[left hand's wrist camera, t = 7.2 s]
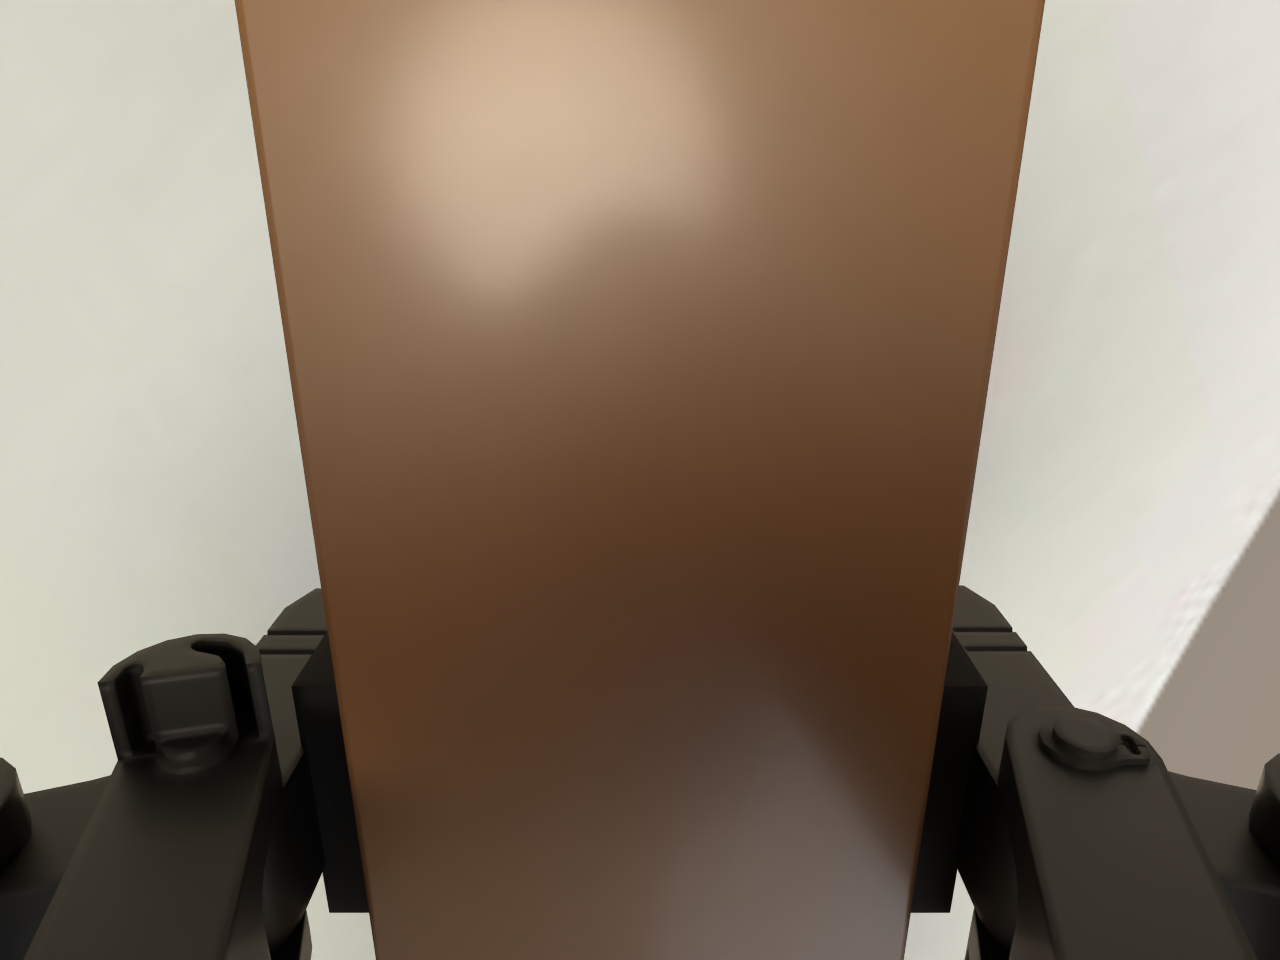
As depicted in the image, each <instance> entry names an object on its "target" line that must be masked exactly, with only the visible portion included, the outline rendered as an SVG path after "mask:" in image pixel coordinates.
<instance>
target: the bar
mask: <svg viewBox="0 0 1280 960" xmlns="http://www.w3.org/2000/svg"><path fill="white" fill-rule="evenodd" d="M1044 4H1045V0H235V6H236V12H237V19H238V26H239V33H240V40H241V46H242V53H243V60H244V67H245V73H246V80H247V87H248V94H249V101H250V107H251V114H252V121H253V128H254V135H255V141H256V148H257V155H258V162H259V168H260V175H261V182H262V189H263V196H264V202H265V209H266V216H267V223H268V229H269V236H270V243H271V250H272V257H273V263H274V270H275V277H276V284H277V291H278V297H279V304H280V311H281V318H282V324H283V331H284V338H285V345H286V352H287V358H288V365H289V372H290V379H291V385H292V392H293V399H294V406H295V413H296V419H297V426H298V433H299V440H300V447H301V453H302V460H303V467H304V474H305V480H306V487H307V494H308V501H309V508H310V514H311V521H312V528H313V535H314V541H315V548H316V555H317V562H318V569H319V575H320V582H321V589H322V596H323V603H324V609H325V616H326V623H327V630H328V636H329V643H330V650H331V657H332V664H333V670H334V677H335V684H336V691H337V697H338V704H339V711H340V718H341V725H342V731H343V738H344V745H345V752H346V759H347V765H348V772H349V779H350V786H351V792H352V799H353V806H354V813H355V820H356V826H357V833H358V840H359V847H360V853H361V860H362V867H363V874H364V881H365V887H366V894H367V901H368V908H369V915H370V921H371V928H372V935H373V942H374V948H375V955H376V960H904V953H905V947H906V940H907V933H908V926H909V919H910V913H911V906H912V899H913V892H914V886H915V879H916V872H917V865H918V858H919V852H920V845H921V838H922V831H923V824H924V818H925V811H926V804H927V797H928V791H929V784H930V777H931V770H932V763H933V757H934V750H935V743H936V736H937V730H938V723H939V716H940V709H941V702H942V696H943V689H944V682H945V675H946V668H947V662H948V655H949V648H950V641H951V635H952V628H953V621H954V614H955V607H956V601H957V594H958V587H959V580H960V574H961V567H962V560H963V553H964V546H965V540H966V533H967V526H968V519H969V513H970V506H971V499H972V492H973V485H974V479H975V472H976V465H977V458H978V451H979V445H980V438H981V431H982V424H983V418H984V411H985V404H986V397H987V390H988V384H989V377H990V370H991V363H992V357H993V350H994V343H995V336H996V329H997V323H998V316H999V309H1000V302H1001V296H1002V289H1003V282H1004V275H1005V268H1006V262H1007V255H1008V248H1009V241H1010V234H1011V228H1012V221H1013V214H1014V207H1015V201H1016V194H1017V187H1018V180H1019V173H1020V167H1021V160H1022V153H1023V146H1024V140H1025V133H1026V126H1027V119H1028V112H1029V106H1030V99H1031V92H1032V85H1033V79H1034V72H1035V65H1036V58H1037V51H1038V45H1039V38H1040V31H1041V24H1042V17H1043V11H1044Z"/></svg>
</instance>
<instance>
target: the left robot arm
mask: <svg viewBox="0 0 1280 960" xmlns="http://www.w3.org/2000/svg"><path fill="white" fill-rule="evenodd" d="M98 686H99V689H100V693H101V697H102V701H103V705H104V708H105V712H106V716H107V720H108V724H109V728H110V731H111V735H112V739H113V743H114V747H115V750H116V754H117V758H118V762H117V764H116V766H115V768H114V770H113V772H112V774H111V775H110V776H106V777H103V778H99V779H95V780H91V781H86V782H81V783H76V784H72V785H67V786H62V787H57V788H52V789H47V790H42V791H37V792H32V793H28V794H23V791H22V788H21V784H20V781H19V778H18V775H17V772H16V769H15V768H14V767H13V766H12V765H11V764H9V763H8V762H7V761H5V760H4V759H3V758H0V960H311V952H312V942H311V935H310V928H309V922H308V917H307V911H306V908H307V906H308V903H309V901H310V899H311V897H312V894H313V892H314V890H315V887H316V885H317V883H318V881H319V878H320V876H321V874H322V872H323V877H324V883H325V889H326V895H327V901H328V907H329V913H369V908H368V901H367V894H366V887H365V881H364V874H363V867H362V860H361V853H360V847H359V840H358V833H357V826H356V820H355V813H354V806H353V799H352V792H351V786H350V779H349V772H348V765H347V759H346V752H345V745H344V738H343V731H342V725H341V718H340V711H339V704H338V697H337V691H336V684H335V677H334V670H333V664H332V657H331V650H330V643H329V636H328V630H327V623H326V616H325V609H324V603H323V596H322V589H314V590H313V591H311V592H310V593H308V594H307V595H305V596H303V597H302V598H300V599H299V600H297V601H295V602H294V603H292V604H291V605H289V606H288V607H286V608H285V609H284V610H283V611H282V613H281V614H280V615H279V617H278V618H277V619H276V620H275V622H274V623H273V624H272V626H271V627H270V628H269V630H268V634H267V635H264V636H263V637H262V639H261V640H260V641H259V642H258V644H257V645H256V646H255V645H254V644H253V643H251V642H250V641H249V640H247V639H246V638H242V637H237V636H233V635H228V634H197V635H192V636H187V637H182V638H177V639H172V640H167V641H164V642H161V643H159V644H156V645H153V646H151V647H148V648H145V649H143V650H140V651H137V652H136V653H134V654H132V655H131V656H129V657H127V658H126V659H124V660H122V661H121V662H119V663H117V664H116V665H114V666H113V667H112V668H111V669H110V670H109V671H108V672H107V673H106V674H105V675H104V676H103V677H102V679H101V680H100V681H99V682H98ZM957 869H958V871H959V873H960V875H961V878H962V880H963V882H964V884H965V887H966V889H967V891H968V894H969V896H970V898H971V900H972V903H973V905H974V911H973V917H972V922H971V928H970V933H969V939H968V944H967V950H966V955H965V960H1280V754H1277V755H1276V756H1275V757H1274V758H1273V759H1271V760H1270V761H1269V762H1267V763H1266V764H1265V766H1264V769H1263V772H1262V776H1261V779H1260V782H1259V785H1258V788H1257V790H1252V789H1247V788H1242V787H1237V786H1232V785H1227V784H1222V783H1217V782H1213V781H1208V780H1203V779H1198V778H1193V777H1188V776H1184V775H1180V774H1177V773H1173V772H1169V771H1167V769H1166V766H1165V764H1164V762H1163V760H1162V759H1161V757H1160V756H1159V755H1158V753H1157V752H1156V751H1155V750H1154V748H1153V747H1152V746H1151V745H1150V743H1149V742H1148V741H1147V740H1145V739H1144V738H1142V737H1141V736H1140V735H1138V734H1137V733H1136V732H1134V731H1133V730H1131V729H1130V728H1128V727H1127V726H1126V725H1124V724H1121V723H1119V722H1117V721H1114V720H1112V719H1110V718H1108V717H1105V716H1103V715H1101V714H1098V713H1095V712H1091V711H1087V710H1082V709H1078V708H1074V706H1073V705H1072V704H1071V702H1070V701H1069V700H1068V699H1067V697H1066V696H1065V695H1064V693H1063V692H1062V691H1061V690H1060V688H1059V687H1058V686H1057V684H1056V683H1055V682H1054V681H1053V679H1052V678H1051V677H1050V675H1049V674H1048V673H1047V672H1046V670H1045V669H1044V668H1043V666H1042V665H1041V664H1040V663H1039V661H1038V660H1037V659H1036V657H1035V656H1034V655H1033V654H1032V652H1031V651H1027V646H1026V645H1025V643H1024V642H1023V641H1022V640H1021V638H1020V637H1019V636H1018V634H1017V633H1016V632H1012V627H1011V625H1010V624H1009V623H1008V622H1007V620H1006V619H1005V618H1004V616H1003V615H1002V614H1001V613H1000V611H999V610H998V609H997V607H996V606H995V605H994V604H992V603H991V602H989V601H987V600H986V599H984V598H983V597H981V596H979V595H978V594H976V593H975V592H973V591H971V590H970V589H968V588H967V587H965V586H959V587H958V594H957V601H956V607H955V614H954V621H953V628H952V635H951V641H950V648H949V655H948V662H947V668H946V675H945V682H944V689H943V696H942V702H941V709H940V716H939V723H938V730H937V736H936V743H935V750H934V757H933V763H932V770H931V777H930V784H929V791H928V797H927V804H926V811H925V818H924V824H923V831H922V838H921V845H920V852H919V858H918V865H917V872H916V879H915V886H914V892H913V899H912V906H911V913H950V909H951V903H952V897H953V892H954V886H955V880H956V874H957Z"/></svg>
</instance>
